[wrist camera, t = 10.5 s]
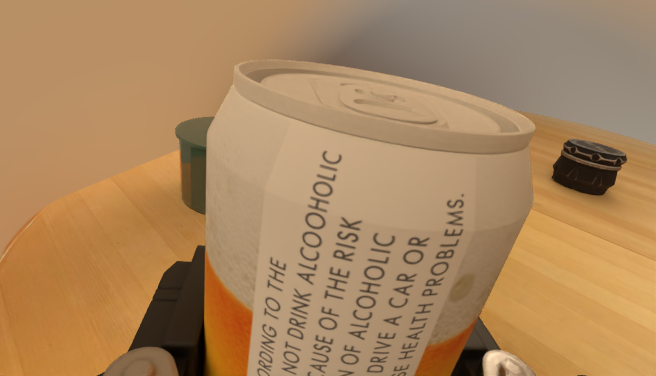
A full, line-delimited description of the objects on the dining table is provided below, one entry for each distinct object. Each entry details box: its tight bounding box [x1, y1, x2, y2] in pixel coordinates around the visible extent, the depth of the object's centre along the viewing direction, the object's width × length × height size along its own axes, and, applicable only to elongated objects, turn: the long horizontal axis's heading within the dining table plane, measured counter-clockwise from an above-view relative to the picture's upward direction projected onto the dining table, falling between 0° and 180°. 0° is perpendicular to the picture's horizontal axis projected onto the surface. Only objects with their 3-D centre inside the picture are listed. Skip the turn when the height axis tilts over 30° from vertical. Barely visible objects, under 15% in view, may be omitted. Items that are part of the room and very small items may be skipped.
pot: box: [179, 140, 207, 215], centre depth 50 cm, size 14×19×10 cm
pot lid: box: [175, 117, 214, 151], centre depth 47 cm, size 15×15×5 cm
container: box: [552, 139, 627, 195], centre depth 81 cm, size 13×13×10 cm
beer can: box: [203, 60, 535, 376], centre depth 10 cm, size 6×6×15 cm
